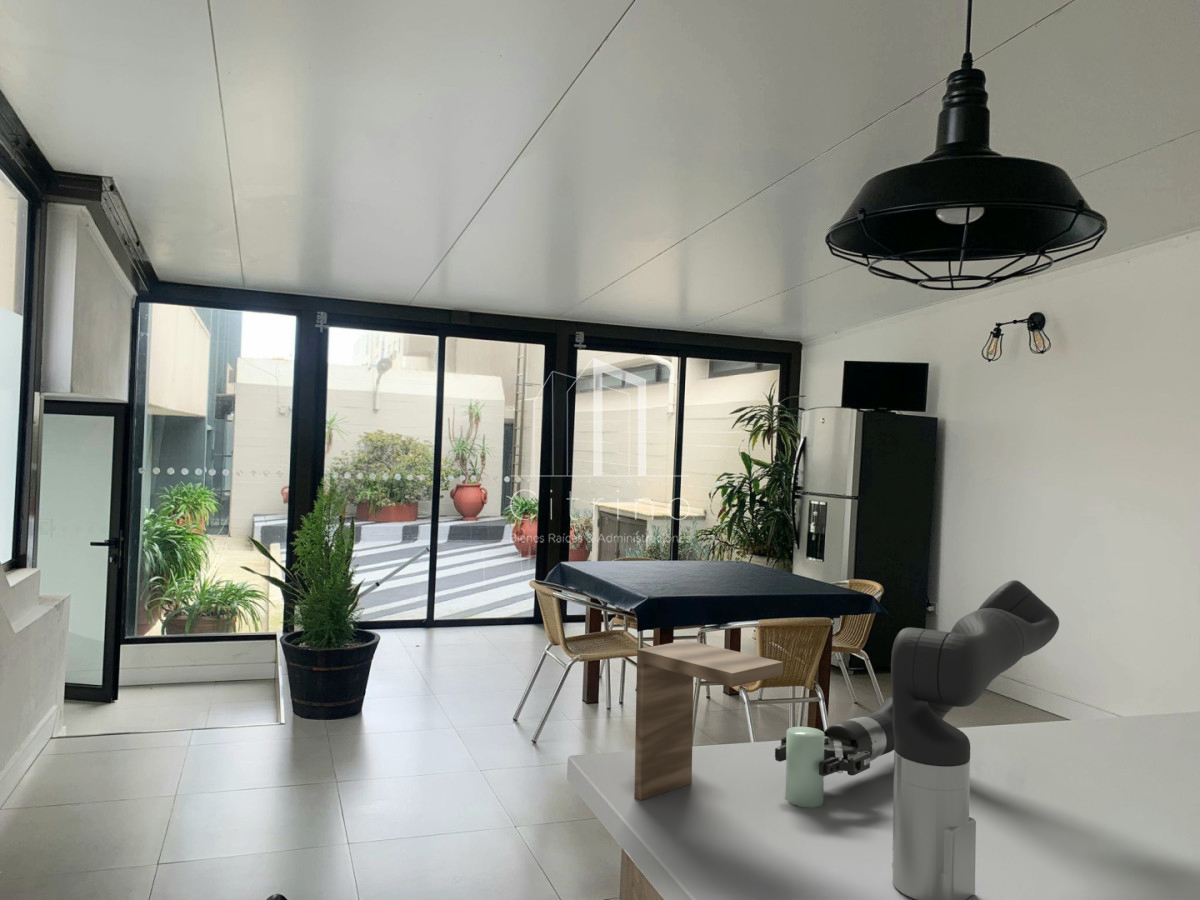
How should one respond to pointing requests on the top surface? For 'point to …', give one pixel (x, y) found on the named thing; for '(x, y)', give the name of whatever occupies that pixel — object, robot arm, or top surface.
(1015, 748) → the top surface
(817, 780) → the pillar candle
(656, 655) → the overhanging shelf
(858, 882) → the top surface
